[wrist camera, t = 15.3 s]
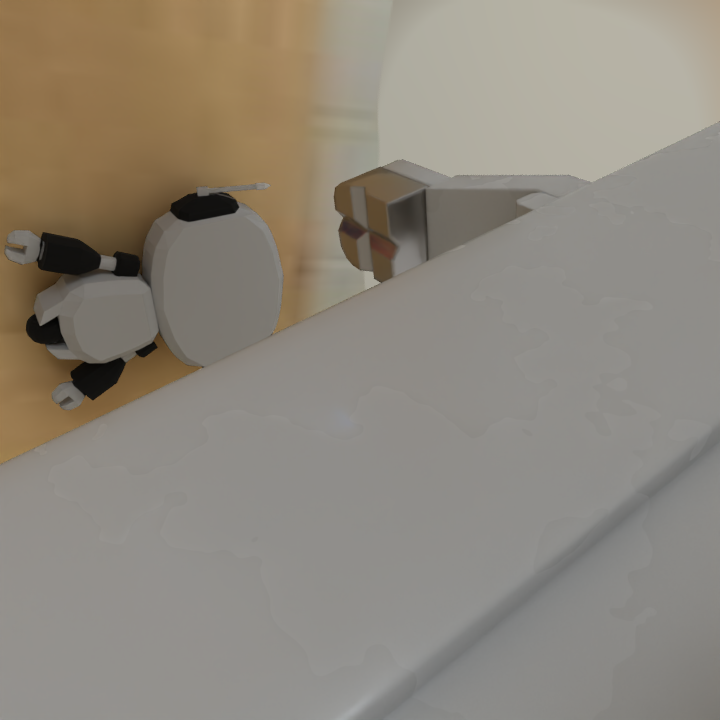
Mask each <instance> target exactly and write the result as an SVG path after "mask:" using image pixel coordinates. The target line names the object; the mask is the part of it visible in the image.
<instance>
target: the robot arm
mask: <svg viewBox="0 0 720 720" xmlns="http://www.w3.org/2000/svg"><path fill="white" fill-rule="evenodd" d="M334 202H335V210H336V211H337V212H338V213H339V214H340V215H341V216H342V217H343V219H342V222H341V225H340V227H339V230H338V232H339V237H340V243H341V247H342V249H343V251H344V253H345V255H346V258H347V259H348V260H349V261H350V262H351V264H352V265H353V266H355V267H356V268H358V269H359V270H363V271H373V273H374V279H376V280H377V281H379V282H381V283H380V284H378V285H376V286H374V287H371V288H369V289H367V290H365V291H363V292H361V293H359V294H357V295H355V296H353V297H350V298H348V299H346V300H344V301H342V302H340V303H338V304H336V305H334V306H332V307H329V308H327V309H325V310H323V311H321V312H319V313H317V314H315V315H313V316H311V317H308V318H306V319H304V320H302V321H300V322H298V323H296V324H294V325H292V326H289V327H287V328H285V329H283V330H281V331H279V332H277V333H275V334H273V335H271V336H268V337H266V338H264V339H262V340H260V341H258V342H256V343H254V344H252V345H250V346H247V347H245V348H243V349H241V350H239V351H237V352H235V353H233V354H231V355H229V356H226V357H224V358H222V359H220V360H218V361H216V362H214V363H212V364H210V365H207V366H205V367H203V368H201V369H199V370H197V371H195V372H193V373H191V374H189V375H186V376H184V377H182V378H180V379H178V380H176V381H174V382H172V383H170V384H168V385H165V386H163V387H161V388H159V389H157V390H155V391H153V392H151V393H149V394H147V395H144V396H142V397H140V398H138V399H136V400H134V401H132V402H130V403H128V404H126V405H123V406H121V407H119V408H117V409H115V410H113V411H111V412H109V413H107V414H104V415H102V416H100V417H98V418H96V419H94V420H92V421H90V422H88V423H86V424H83V425H81V426H79V427H77V428H75V429H73V430H71V431H69V432H67V433H65V434H62V435H60V436H58V437H56V438H54V439H52V440H50V441H48V442H46V443H44V444H41V445H39V446H37V447H35V448H33V449H31V450H29V451H27V452H25V453H23V454H20V455H18V456H16V457H14V458H12V459H10V460H8V461H6V462H4V463H1V464H0V720H720V121H719V122H718V123H715V124H713V125H711V126H709V127H707V128H705V129H703V130H701V131H699V132H697V133H695V134H693V135H691V136H688V137H686V138H684V139H682V140H680V141H678V142H676V143H674V144H672V145H670V146H667V147H666V148H663V149H661V150H659V151H657V152H655V153H653V154H651V155H649V156H647V157H644V158H642V159H640V160H639V161H636V162H634V163H632V164H630V165H628V166H626V167H624V168H621V169H619V170H617V171H615V172H613V173H611V174H609V175H607V176H605V177H602V178H600V179H598V180H596V181H594V182H589V181H586V180H583V179H579V178H576V177H573V176H570V175H457V176H454V177H452V178H451V177H448V176H446V175H443V174H440V173H438V172H435V171H432V170H430V169H427V168H424V167H422V166H419V165H416V164H414V163H411V162H408V161H406V160H403V159H402V160H397V161H394V162H392V163H390V164H387V165H385V166H383V167H378V168H376V169H374V170H371V171H369V172H366V173H364V174H362V175H359V176H357V177H354V178H352V179H349V180H347V181H345V182H342V183H340V184H339V185H338V186H336V187H335V192H334Z"/></svg>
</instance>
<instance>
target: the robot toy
mask: <svg viewBox="0 0 720 720" xmlns="http://www.w3.org/2000/svg"><path fill="white" fill-rule="evenodd" d="M269 186H271V185H269V184H266V183H255V184H253V185H241V186H230V187H219V188H208V187H207V186H204V187H196V188H197V193H193V194H188V195H187V196H185V197H183V198H181V199H180V200H178V201H176V202H174V203H172V204H171V209H170V212H167V213H166V214H164V215H163V216H161V217H160V218H158V219H157V220H155V221H154V222H153V224H152V226H151V228H150V230H149V232H148V234H147V236H146V240H145V244H144V250H143V260H142V276H141V275H140V273H138V272H139V267H140V260H139V258H138V256H136V255H133V254H128V253H123V252H118V251H117V252H116V253H115V254H114V256H113V257H110V256H105V255H100V254H98V253H97V252H96V251H95V250H93V249H92V248H90V247H89V246H87V245H86V244H85V243H83V242H82V241H80V240H78V239H74V238H69V237H64V236H59V235H54V234H49V233H45V232H43V234H42V237H41V238H39V237H38V236H36V235H35V234H33V233H32V232H30V231H29V230H14V231H13V232H11V233H10V234H8V236H7V243H14V244H19V245H24V246H23V249H19V248H14V247H9V246H6V245H5V255H6V257H7V258H8V260H11V261H13V262H16V263H19V264H21V265H22V264H27V263H31V262H36V261H37V262H38V267H39V268H40V269H41V270H45V271H51V272H57V273H63V274H64V275H62V276H61V277H60V278H59V280H58V281H57V282H56V284H54V285H53V286H51V287H49V288H47V289H46V290H44V291H42V292H41V293H39V294H37V297H36V300H35V304H34V308H33V309H34V312H35V314H34V315H32V316H31V317H30V318H29V319H28V320H27V324H26V331H27V334H28V336H29V337H30V338H31V339H32V340H33V341H35V342H37V343H40V344H45V345H46V347H47V350H49V351H50V352H51V353H52V354H53V355H54V356H55V357H57V358H58V359H78V360H82V361H85V362H84V363H82V364H81V365H79V366H78V367H77V368H75V369H74V370H72V371H71V377H72V379H73V381H69V382H65V383H61V384H59V385H58V387H57V388H56V389H55V390H54V391H53V392H52V399H53V401H54V402H55V403H56V404H58V403H59V402H60V401H61V402H60V403H59V404H60V407H61V408H62V409H64V410H71V409H73V408H75V407H78V406H80V404H81V403H82V401H83V399H84V397H85V395H87V396H88V397H89V398H90V399H92V400H94V399H95V398H97V397H98V396H100V395H101V394H102V393H104V392H105V391H106V390H108V389H109V388H110V387H112V386H113V385H114V384H116V383H117V381H118V379H119V377H120V375H121V373H122V371H123V369H124V366H125V364H126V362H127V361H129V360H130V359H131V358H133V357H134V356H136V355H138V356H140V357H145V356H147V355H148V354H149V353H151V352H152V351H153V350H155V349H156V348H157V346H156V344H155V343H154V341H153V340H154V338H155V337H156V335H157V333H158V331H159V333H160V335H161V337H162V338H163V340H164V341H165V343H166V344H167V346H168V347H169V349H170V350H171V351H172V353H173V354H174V355H175V356H176V357H177V358H178V359H180V360H181V361H182V362H184V363H185V364H186V365H191V366H201V367H202V368H203V367H205V366H207V365H210V364H212V363H214V362H216V361H218V360H220V359H222V358H224V357H226V356H229V355H231V354H233V353H235V352H237V351H239V350H241V349H243V348H245V347H247V346H250V345H252V344H254V343H256V342H258V341H260V340H262V339H264V338H266V337H268V336H271V335H272V333H273V331H274V330H275V328H276V325H277V322H278V318H279V313H280V308H281V300H282V288H283V271H282V267H281V263H280V259H279V254H278V250H277V246H276V244H275V241H274V238H273V236H272V233H271V231H270V229H269V227H268V225H267V224H266V223H265V222H264V221H263V220H262V219H261V217H260V216H259V215H258V214H257V213H256V212H254V211H253V210H252V209H250V208H249V207H248V206H247V205H245V204H243V203H240V202H237V201H236V200H235V199H234V198H233V197H231V196H230V195H229V194H227V193H223V192H229V191H240V190H251V189H257V190H262V189H266V188H268V187H269ZM63 399H64V400H63Z"/></svg>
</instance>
